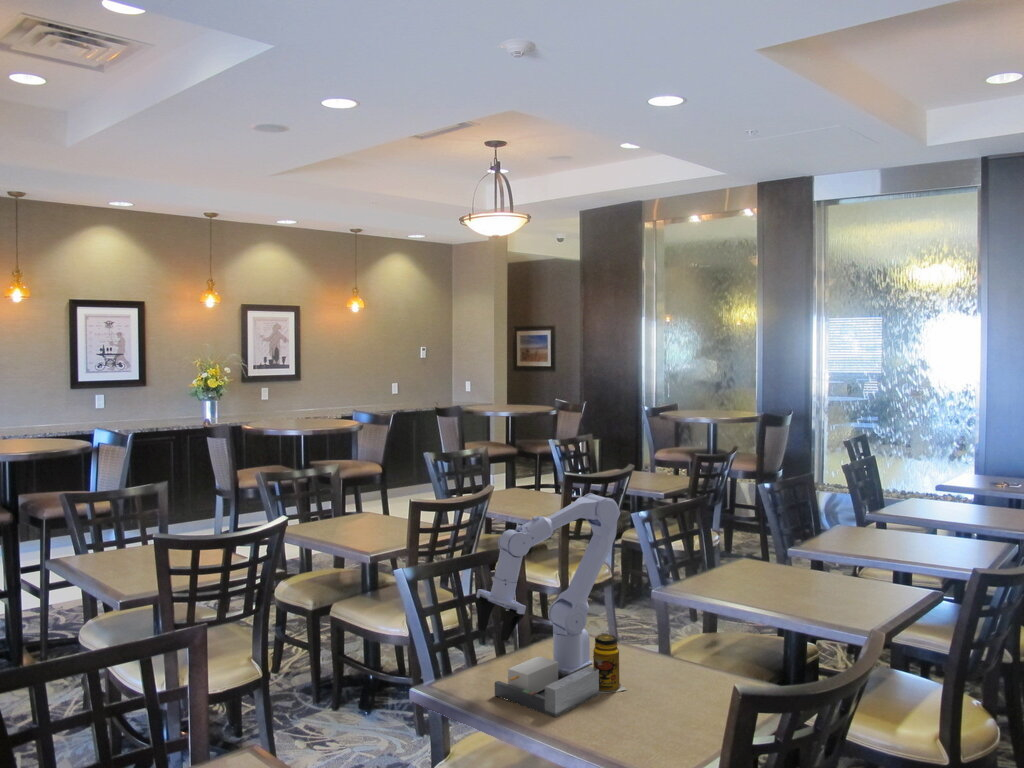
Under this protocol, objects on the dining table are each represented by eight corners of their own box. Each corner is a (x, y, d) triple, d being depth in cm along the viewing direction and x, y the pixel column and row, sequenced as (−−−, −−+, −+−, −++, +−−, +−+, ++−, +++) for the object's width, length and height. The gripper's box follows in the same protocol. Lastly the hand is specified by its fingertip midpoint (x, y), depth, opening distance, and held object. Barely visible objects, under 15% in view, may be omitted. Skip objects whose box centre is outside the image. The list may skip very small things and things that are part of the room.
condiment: (598, 694, 193) (598, 643, 192) (584, 681, 201) (584, 632, 200) (627, 690, 195) (627, 639, 195) (612, 677, 203) (611, 629, 203)
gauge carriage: (538, 676, 201) (538, 656, 201) (558, 682, 197) (558, 661, 197) (501, 693, 191) (500, 671, 191) (520, 700, 187) (520, 678, 187)
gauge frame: (539, 676, 204) (539, 651, 204) (598, 695, 192) (598, 669, 192) (494, 696, 192) (494, 670, 192) (555, 717, 180) (554, 690, 180)
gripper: (473, 571, 205) (460, 626, 204) (517, 587, 195) (504, 645, 194) (492, 572, 210) (480, 626, 209) (535, 588, 200) (523, 644, 199)
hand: (492, 635), depth 202 cm, fingers open, 7 cm apart
